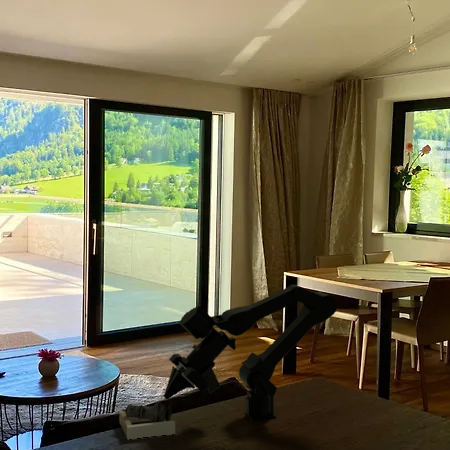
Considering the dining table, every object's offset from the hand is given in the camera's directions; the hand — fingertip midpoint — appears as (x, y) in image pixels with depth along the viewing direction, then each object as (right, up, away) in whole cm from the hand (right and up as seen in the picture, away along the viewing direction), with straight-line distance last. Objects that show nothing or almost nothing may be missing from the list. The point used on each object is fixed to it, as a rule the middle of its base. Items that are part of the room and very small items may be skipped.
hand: (165, 397), depth 163 cm
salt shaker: (+1, -5, +1) cm, 5 cm away
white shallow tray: (-4, -7, -1) cm, 8 cm away
